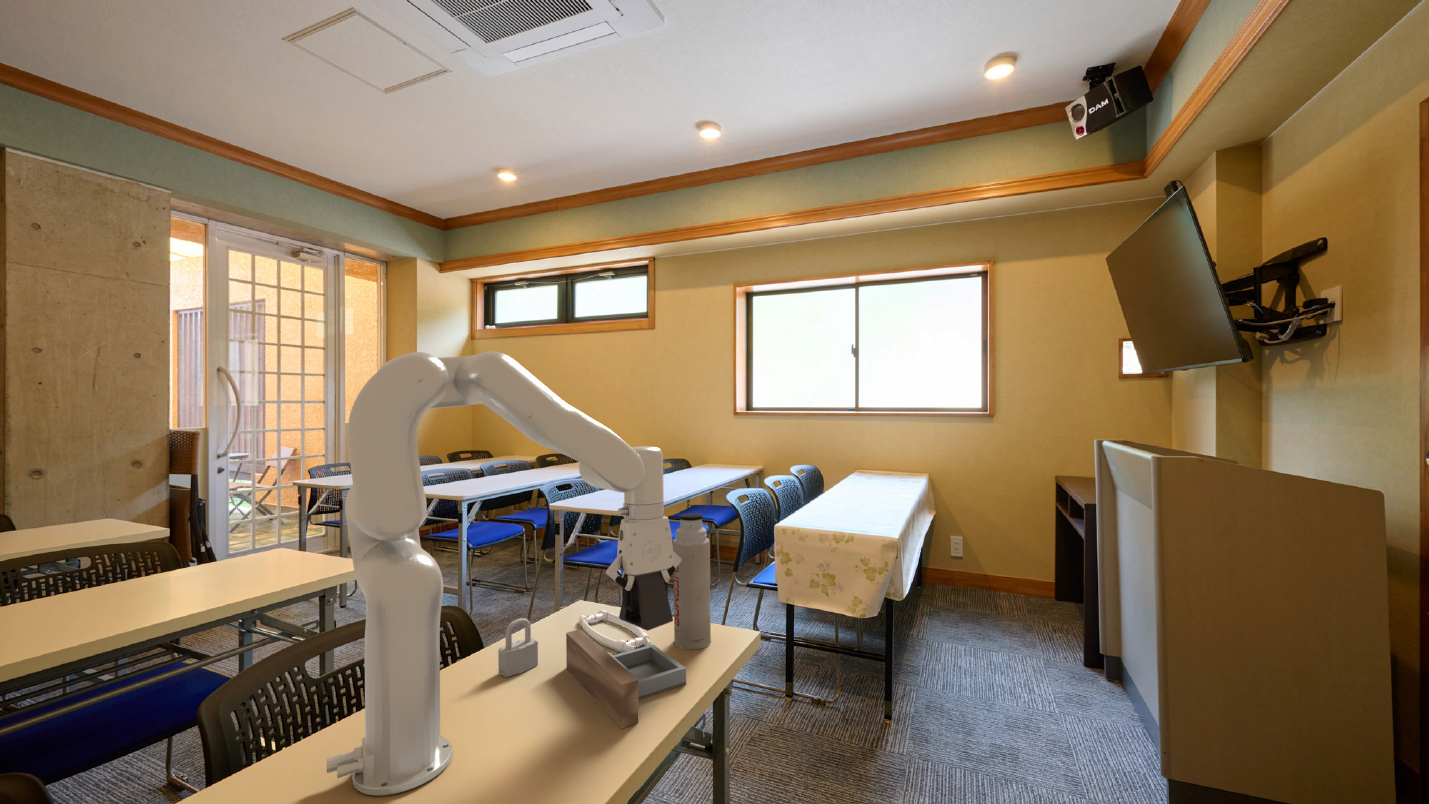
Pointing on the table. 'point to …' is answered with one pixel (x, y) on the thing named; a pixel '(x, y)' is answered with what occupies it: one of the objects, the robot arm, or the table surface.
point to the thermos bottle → (692, 584)
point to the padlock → (518, 651)
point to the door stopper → (648, 603)
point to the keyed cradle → (652, 670)
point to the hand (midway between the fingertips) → (645, 604)
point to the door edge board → (603, 678)
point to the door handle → (610, 643)
